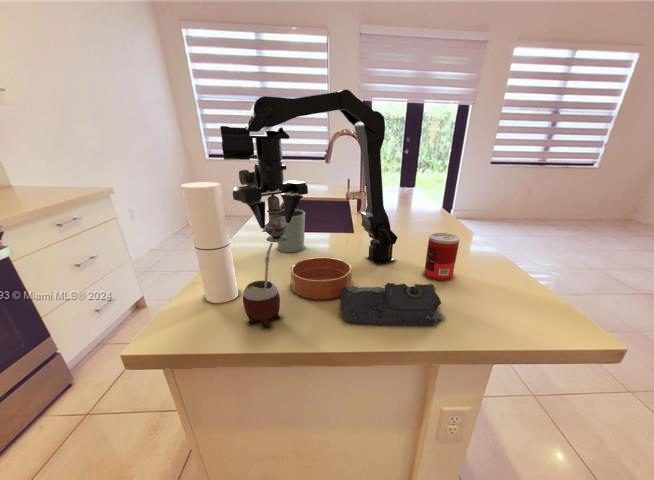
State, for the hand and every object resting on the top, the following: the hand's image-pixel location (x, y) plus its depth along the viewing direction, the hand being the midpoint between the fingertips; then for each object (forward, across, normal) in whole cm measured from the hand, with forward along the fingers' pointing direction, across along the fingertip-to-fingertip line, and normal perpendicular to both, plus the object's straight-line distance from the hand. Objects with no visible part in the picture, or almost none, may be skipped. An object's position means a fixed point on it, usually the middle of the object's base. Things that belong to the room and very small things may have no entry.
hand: (275, 225), depth 81 cm
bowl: (+13, -1, +15) cm, 20 cm away
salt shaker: (+4, 0, 0) cm, 4 cm away
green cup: (+13, -15, -13) cm, 24 cm away
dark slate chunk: (+13, -4, +34) cm, 37 cm away
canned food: (+13, -29, +34) cm, 46 cm away
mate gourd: (+13, +18, +18) cm, 28 cm away
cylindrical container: (+13, +18, +1) cm, 22 cm away
